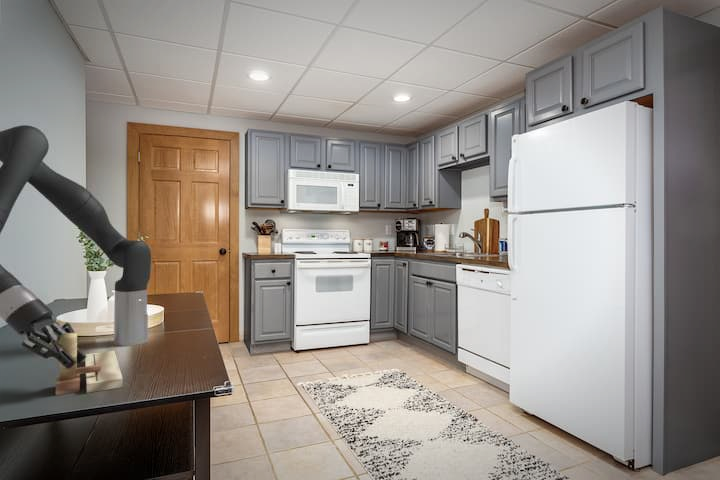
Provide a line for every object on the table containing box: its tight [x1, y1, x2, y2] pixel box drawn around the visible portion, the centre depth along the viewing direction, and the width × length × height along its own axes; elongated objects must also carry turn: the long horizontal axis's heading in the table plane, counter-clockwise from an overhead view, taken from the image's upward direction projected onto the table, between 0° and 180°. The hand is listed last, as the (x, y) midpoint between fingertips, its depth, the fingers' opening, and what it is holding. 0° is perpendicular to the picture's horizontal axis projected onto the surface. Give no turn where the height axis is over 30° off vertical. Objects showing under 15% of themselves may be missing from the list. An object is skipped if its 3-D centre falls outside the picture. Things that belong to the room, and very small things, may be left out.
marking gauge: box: [55, 332, 101, 396], centre depth 97 cm, size 8×6×12 cm
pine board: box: [84, 350, 124, 394], centre depth 106 cm, size 7×26×2 cm, turn 34°
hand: (77, 362), depth 96 cm, fingers closed on marking gauge, 3 cm apart
